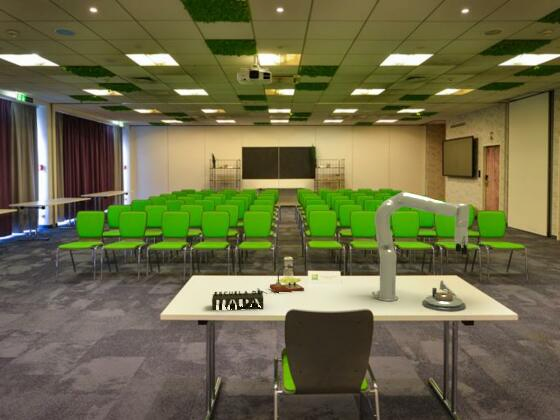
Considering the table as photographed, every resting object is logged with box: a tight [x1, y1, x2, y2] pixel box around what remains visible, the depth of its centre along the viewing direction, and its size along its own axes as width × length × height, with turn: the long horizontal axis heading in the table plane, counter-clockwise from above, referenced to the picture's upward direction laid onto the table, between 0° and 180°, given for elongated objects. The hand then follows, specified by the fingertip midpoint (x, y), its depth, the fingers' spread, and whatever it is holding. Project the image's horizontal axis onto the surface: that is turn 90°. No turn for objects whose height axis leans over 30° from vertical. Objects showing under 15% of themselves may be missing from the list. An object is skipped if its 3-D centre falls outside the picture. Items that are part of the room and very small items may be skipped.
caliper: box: [439, 279, 457, 297], centre depth 312 cm, size 20×1×6 cm, turn 8°
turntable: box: [425, 287, 463, 308], centre depth 281 cm, size 20×20×7 cm
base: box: [421, 291, 466, 312], centre depth 281 cm, size 24×24×6 cm
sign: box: [211, 290, 264, 311], centre depth 280 cm, size 29×11×10 cm, turn 95°
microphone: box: [256, 263, 305, 294], centre depth 319 cm, size 14×30×18 cm, turn 109°
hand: (461, 252), depth 289 cm, fingers open, 9 cm apart
